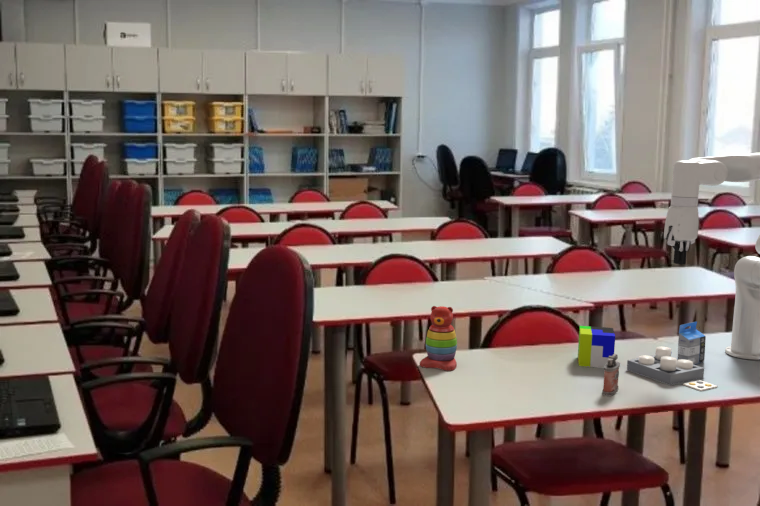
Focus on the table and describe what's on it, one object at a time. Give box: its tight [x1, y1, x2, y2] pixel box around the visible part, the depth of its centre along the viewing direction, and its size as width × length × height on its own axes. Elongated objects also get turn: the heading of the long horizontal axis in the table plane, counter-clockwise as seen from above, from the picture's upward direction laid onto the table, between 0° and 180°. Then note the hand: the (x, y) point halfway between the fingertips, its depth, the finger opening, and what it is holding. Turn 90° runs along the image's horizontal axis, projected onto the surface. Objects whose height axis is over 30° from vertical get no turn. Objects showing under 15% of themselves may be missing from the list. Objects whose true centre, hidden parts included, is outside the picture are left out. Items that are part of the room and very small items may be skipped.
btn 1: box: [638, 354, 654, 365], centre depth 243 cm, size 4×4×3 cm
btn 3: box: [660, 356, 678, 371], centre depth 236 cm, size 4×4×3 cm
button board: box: [626, 354, 705, 386], centre depth 242 cm, size 14×16×3 cm
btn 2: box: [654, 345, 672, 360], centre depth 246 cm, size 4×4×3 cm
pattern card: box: [682, 379, 719, 392], centre depth 231 cm, size 7×6×1 cm
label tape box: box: [677, 321, 706, 365], centre depth 252 cm, size 9×4×12 cm, turn 126°
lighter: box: [601, 353, 621, 397], centre depth 225 cm, size 8×3×10 cm, turn 148°
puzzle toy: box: [577, 325, 616, 368], centre depth 251 cm, size 10×10×10 cm
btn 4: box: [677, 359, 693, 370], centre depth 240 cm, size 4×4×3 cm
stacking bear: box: [419, 305, 458, 371], centre depth 246 cm, size 11×10×18 cm
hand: (679, 263), depth 247 cm, fingers closed
